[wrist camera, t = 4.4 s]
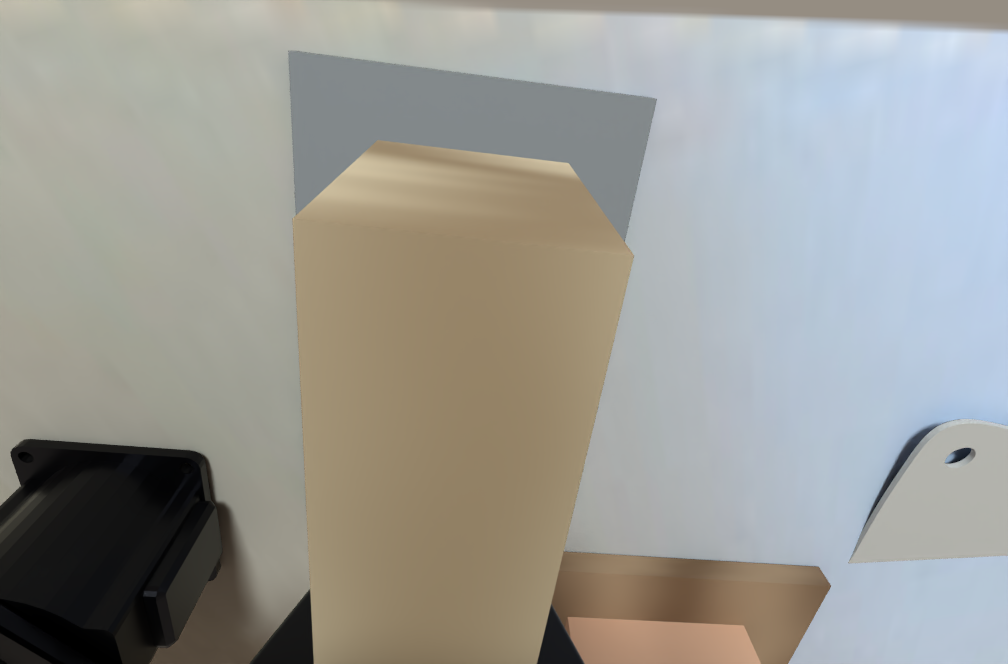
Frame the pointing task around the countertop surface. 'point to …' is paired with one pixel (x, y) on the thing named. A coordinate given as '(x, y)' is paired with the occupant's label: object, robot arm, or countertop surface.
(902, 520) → the kitchen cleaver
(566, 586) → the board
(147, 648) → the robot arm
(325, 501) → the turner
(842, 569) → the countertop surface
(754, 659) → the tile
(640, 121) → the mat
